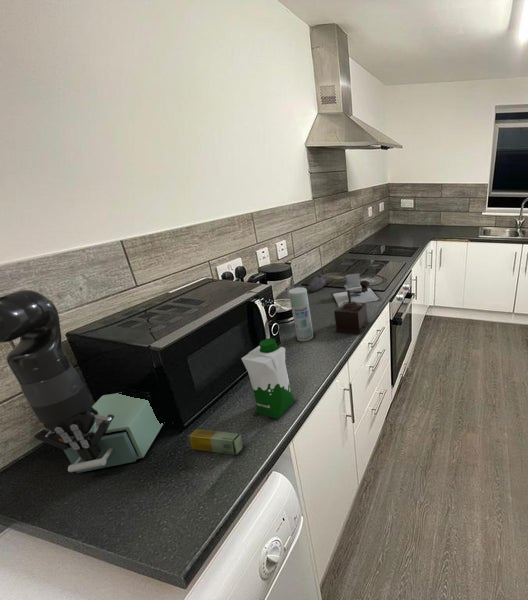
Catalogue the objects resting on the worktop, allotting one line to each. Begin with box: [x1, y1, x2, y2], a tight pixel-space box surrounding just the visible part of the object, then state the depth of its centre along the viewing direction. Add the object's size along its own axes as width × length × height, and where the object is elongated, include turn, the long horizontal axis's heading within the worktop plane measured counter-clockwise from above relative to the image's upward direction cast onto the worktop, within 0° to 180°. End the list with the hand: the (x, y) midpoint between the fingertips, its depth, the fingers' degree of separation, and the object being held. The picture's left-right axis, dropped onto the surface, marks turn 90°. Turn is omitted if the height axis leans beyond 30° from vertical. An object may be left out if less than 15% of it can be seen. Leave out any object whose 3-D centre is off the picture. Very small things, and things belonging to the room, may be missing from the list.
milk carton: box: [240, 337, 295, 420], centre depth 86 cm, size 9×9×20 cm
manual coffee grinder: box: [333, 279, 370, 335], centre depth 133 cm, size 16×11×18 cm
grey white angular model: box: [332, 272, 381, 307], centre depth 163 cm, size 19×21×12 cm
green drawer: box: [63, 430, 138, 474], centre depth 75 cm, size 18×11×8 cm, turn 14°
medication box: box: [188, 428, 244, 456], centre depth 76 cm, size 12×3×4 cm, turn 81°
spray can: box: [288, 286, 314, 342], centre depth 123 cm, size 6×6×20 cm
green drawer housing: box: [63, 392, 164, 460], centre depth 79 cm, size 15×13×10 cm
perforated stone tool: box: [307, 273, 326, 293], centre depth 176 cm, size 15×5×7 cm, turn 158°
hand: (93, 457), depth 69 cm, fingers closed
